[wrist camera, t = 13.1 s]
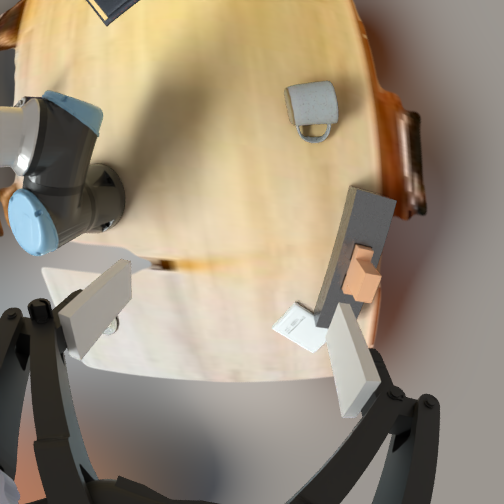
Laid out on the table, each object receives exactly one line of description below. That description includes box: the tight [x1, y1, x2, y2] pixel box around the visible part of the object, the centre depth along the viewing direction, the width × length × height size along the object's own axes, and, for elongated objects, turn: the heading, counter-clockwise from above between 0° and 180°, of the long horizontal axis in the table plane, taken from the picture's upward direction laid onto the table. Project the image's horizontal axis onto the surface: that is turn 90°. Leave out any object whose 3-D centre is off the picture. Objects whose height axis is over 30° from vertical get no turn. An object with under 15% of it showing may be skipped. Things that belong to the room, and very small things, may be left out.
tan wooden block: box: [342, 243, 382, 303], centre depth 46 cm, size 3×9×12 cm, turn 170°
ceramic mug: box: [284, 81, 338, 143], centre depth 40 cm, size 11×8×8 cm
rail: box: [313, 186, 397, 329], centre depth 50 cm, size 8×28×5 cm, turn 170°
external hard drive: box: [272, 302, 328, 353], centre depth 59 cm, size 2×8×12 cm
